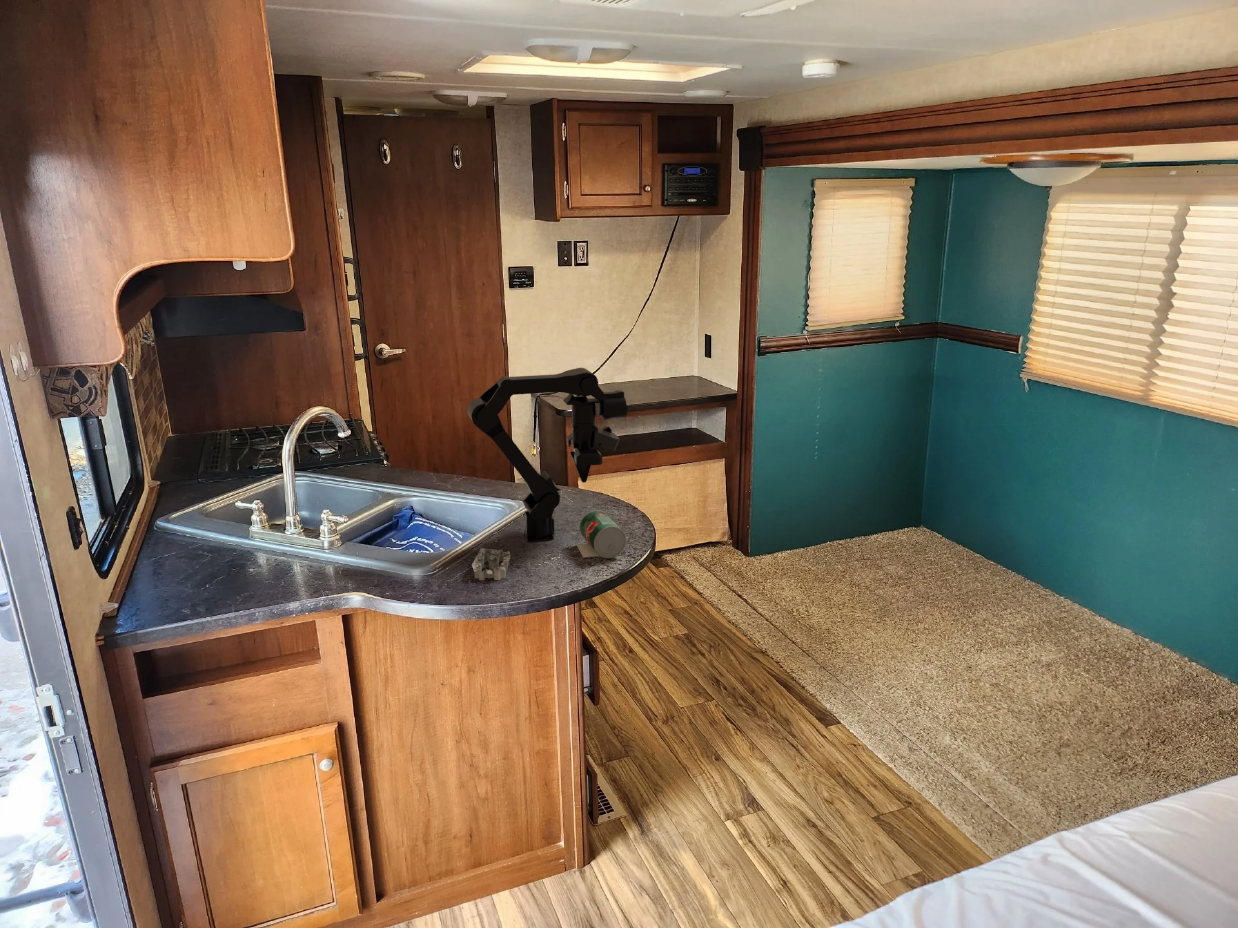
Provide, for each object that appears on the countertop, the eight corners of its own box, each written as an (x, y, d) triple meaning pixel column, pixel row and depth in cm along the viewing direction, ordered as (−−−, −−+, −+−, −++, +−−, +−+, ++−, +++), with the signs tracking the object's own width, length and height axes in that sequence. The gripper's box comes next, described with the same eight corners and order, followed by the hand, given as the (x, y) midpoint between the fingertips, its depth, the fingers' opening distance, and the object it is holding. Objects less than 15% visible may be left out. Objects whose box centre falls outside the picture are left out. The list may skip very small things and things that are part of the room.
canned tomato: (575, 517, 199) (590, 533, 189) (605, 505, 201) (621, 521, 191) (584, 545, 202) (599, 563, 192) (613, 533, 204) (629, 550, 194)
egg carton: (504, 582, 182) (503, 565, 180) (470, 581, 182) (469, 564, 181) (513, 562, 192) (512, 545, 191) (481, 560, 192) (480, 544, 191)
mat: (583, 557, 194) (583, 555, 194) (577, 545, 200) (577, 544, 200) (616, 554, 196) (616, 552, 196) (609, 542, 202) (609, 541, 202)
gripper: (623, 429, 193) (623, 493, 198) (609, 410, 211) (609, 468, 216) (576, 431, 191) (576, 495, 196) (566, 412, 209) (566, 471, 214)
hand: (583, 482), depth 205 cm, fingers closed
